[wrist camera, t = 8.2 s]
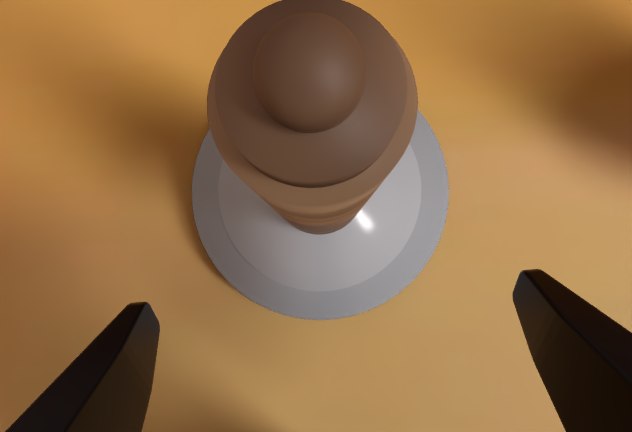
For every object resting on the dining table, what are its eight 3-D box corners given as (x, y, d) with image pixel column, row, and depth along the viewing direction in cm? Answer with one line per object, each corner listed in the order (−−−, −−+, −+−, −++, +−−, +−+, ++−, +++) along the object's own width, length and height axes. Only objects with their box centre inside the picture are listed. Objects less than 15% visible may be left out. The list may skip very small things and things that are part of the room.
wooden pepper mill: (309, 252, 21) (273, 247, 6) (257, 180, 22) (110, 18, 7) (381, 199, 21) (511, 74, 7) (328, 129, 22) (338, -137, 7)
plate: (272, 364, 22) (269, 370, 21) (155, 148, 23) (146, 143, 22) (491, 236, 22) (500, 235, 21) (362, 31, 23) (364, 19, 22)
